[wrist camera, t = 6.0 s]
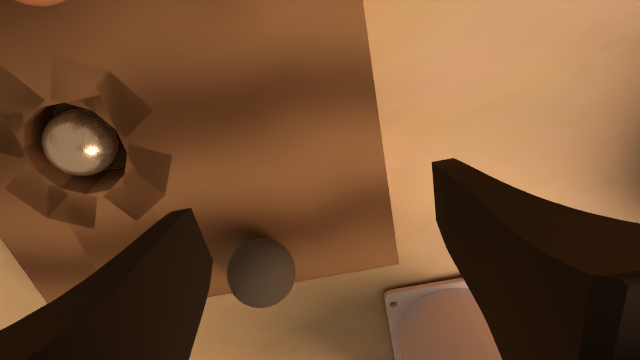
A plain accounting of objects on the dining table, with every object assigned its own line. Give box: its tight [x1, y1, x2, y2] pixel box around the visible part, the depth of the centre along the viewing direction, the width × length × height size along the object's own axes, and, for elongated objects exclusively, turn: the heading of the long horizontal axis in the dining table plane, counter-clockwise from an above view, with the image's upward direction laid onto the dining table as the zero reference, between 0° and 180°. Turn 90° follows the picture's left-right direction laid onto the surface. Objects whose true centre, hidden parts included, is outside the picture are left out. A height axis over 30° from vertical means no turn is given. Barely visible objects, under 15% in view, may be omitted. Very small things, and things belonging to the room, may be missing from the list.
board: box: [0, 0, 399, 303], centre depth 20 cm, size 20×20×2 cm
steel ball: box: [42, 109, 119, 176], centre depth 20 cm, size 3×3×3 cm
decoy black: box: [227, 238, 296, 308], centre depth 20 cm, size 3×3×3 cm
